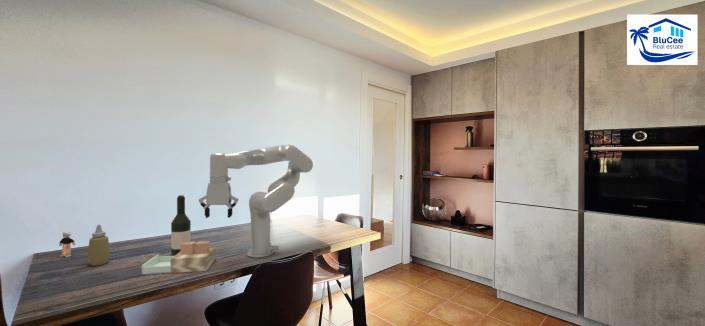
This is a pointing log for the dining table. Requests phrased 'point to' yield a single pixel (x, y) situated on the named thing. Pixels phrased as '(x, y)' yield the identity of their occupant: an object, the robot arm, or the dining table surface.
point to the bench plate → (192, 262)
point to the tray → (157, 265)
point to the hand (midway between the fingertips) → (218, 217)
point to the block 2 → (202, 247)
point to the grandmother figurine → (66, 244)
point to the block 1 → (188, 248)
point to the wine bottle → (180, 227)
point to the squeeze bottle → (98, 248)
